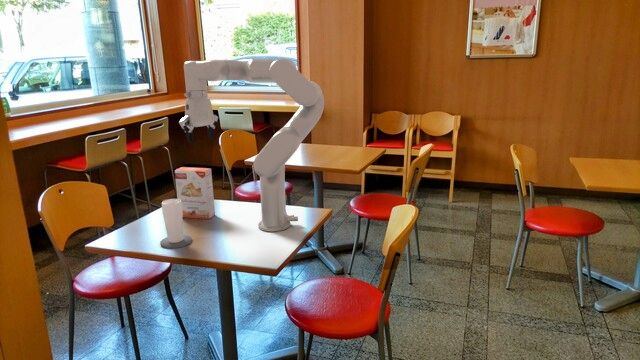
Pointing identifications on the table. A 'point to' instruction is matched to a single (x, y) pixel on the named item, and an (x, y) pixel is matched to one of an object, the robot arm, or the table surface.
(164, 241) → the coaster
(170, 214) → the drinking glass
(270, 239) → the table surface
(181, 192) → the cracker box
